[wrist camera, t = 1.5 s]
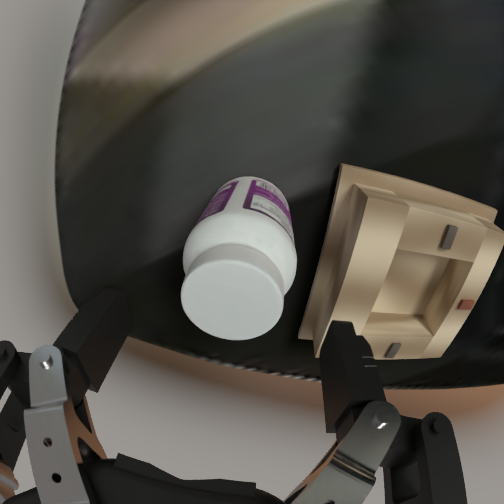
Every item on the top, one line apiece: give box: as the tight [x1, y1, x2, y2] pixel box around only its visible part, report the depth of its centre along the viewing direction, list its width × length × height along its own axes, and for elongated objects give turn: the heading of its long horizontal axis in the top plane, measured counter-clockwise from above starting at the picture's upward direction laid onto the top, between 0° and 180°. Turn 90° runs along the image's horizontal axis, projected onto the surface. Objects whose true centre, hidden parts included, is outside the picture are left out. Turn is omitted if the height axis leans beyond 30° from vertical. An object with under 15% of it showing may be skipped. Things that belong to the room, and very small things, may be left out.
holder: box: [298, 163, 504, 359], centre depth 18 cm, size 15×15×4 cm
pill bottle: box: [181, 177, 297, 340], centre depth 14 cm, size 5×5×10 cm
